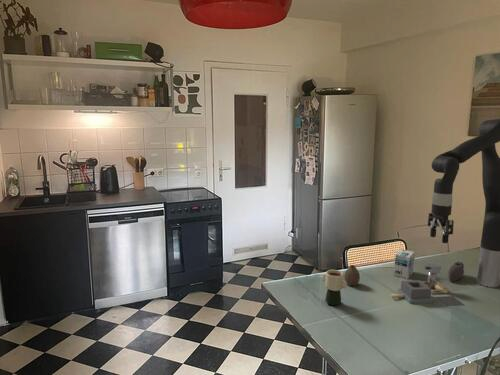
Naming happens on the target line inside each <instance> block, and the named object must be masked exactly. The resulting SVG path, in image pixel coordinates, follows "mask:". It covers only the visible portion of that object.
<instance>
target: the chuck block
mask: <svg viewBox="0 0 500 375" xmlns="http://www.w3.org/2000/svg"><path fill="white" fill-rule="evenodd" d="M423 282H424V281H422V280H420V279H419V280H418V279H417V280H401V283H400V284H401V285H400V288H397V294H395V293H393V294H391V298H393V299H397V298H398V299H399V298H402V299H404V300H405V301H406V302H407V303H408V304H434V303H433V302H434V298H433V297H432V295H431V288H429V287H428V286H427V285H425V284H424V283H423Z"/></svg>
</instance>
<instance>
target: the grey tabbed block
mask: <svg viewBox="0 0 500 375" xmlns="http://www.w3.org/2000/svg"><path fill="white" fill-rule="evenodd" d="M424 269H425V270H426V271H427V279H426V280H427V286H428V287H429V288H431V290H435V286H436V281H437V276H438V275H437V274H440V273H441V269H442V267H441V265H440V264H438V263H436V262H426V264H425V266H424Z"/></svg>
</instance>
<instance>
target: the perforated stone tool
mask: <svg viewBox="0 0 500 375" xmlns="http://www.w3.org/2000/svg"><path fill="white" fill-rule="evenodd" d="M464 267H465V265H464V263H463V262H461V261H456V262H455V263H452V265H451V266H450V268H449V269H448V274H447V278H448V281H449V282H451V283H452V282H456V281H458V280H459V279H461V278H462V277H463V275H464V274H465V269H464Z"/></svg>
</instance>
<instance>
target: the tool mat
mask: <svg viewBox="0 0 500 375" xmlns="http://www.w3.org/2000/svg"><path fill="white" fill-rule="evenodd" d="M435 298H436V299H437V300H438V301H440V302H441V303H443V305H444V306H446V307H454V306H455V307H457V306H458V307H459V306H465V303H463V302H462V301H460V300H459V299H457V298H456V297H455V296H452V295H447V296H435Z"/></svg>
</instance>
